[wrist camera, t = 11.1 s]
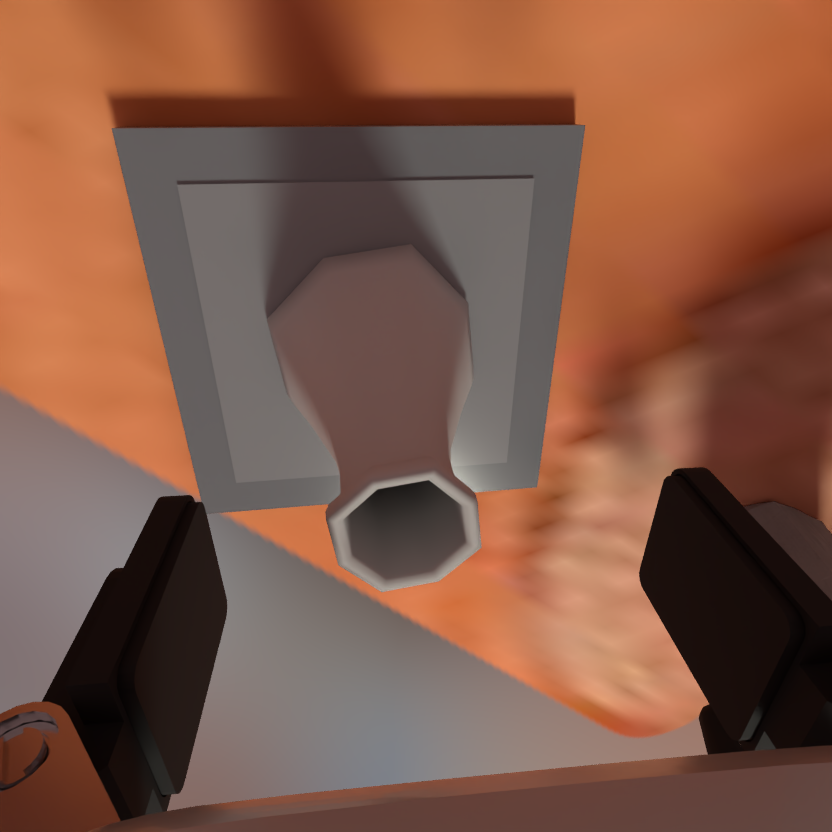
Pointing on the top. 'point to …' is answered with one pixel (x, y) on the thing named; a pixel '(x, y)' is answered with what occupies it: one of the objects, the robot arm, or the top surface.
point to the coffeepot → (816, 555)
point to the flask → (385, 408)
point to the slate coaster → (338, 235)
